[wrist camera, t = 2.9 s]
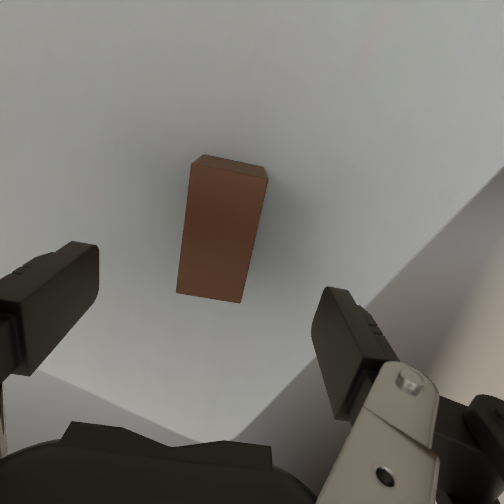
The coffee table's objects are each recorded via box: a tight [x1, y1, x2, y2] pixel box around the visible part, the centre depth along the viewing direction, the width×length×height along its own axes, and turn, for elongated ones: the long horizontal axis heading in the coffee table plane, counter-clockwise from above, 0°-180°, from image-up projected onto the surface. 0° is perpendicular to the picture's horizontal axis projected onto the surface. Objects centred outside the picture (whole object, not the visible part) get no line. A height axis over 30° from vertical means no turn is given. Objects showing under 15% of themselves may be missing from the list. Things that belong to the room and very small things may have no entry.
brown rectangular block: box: [176, 155, 268, 303], centre depth 17 cm, size 4×7×4 cm, turn 168°
